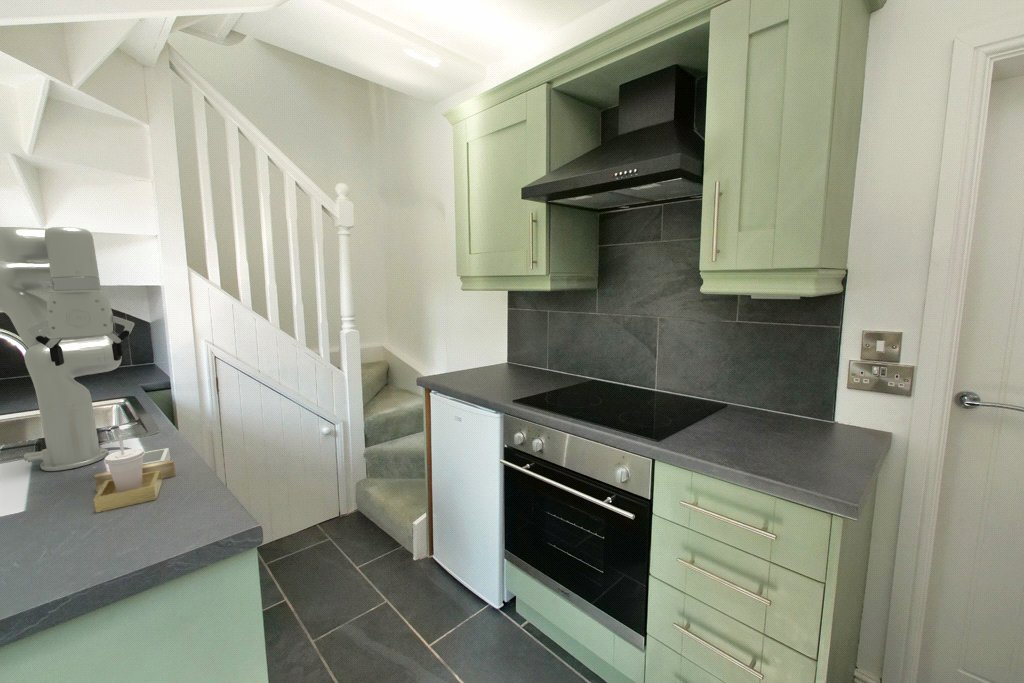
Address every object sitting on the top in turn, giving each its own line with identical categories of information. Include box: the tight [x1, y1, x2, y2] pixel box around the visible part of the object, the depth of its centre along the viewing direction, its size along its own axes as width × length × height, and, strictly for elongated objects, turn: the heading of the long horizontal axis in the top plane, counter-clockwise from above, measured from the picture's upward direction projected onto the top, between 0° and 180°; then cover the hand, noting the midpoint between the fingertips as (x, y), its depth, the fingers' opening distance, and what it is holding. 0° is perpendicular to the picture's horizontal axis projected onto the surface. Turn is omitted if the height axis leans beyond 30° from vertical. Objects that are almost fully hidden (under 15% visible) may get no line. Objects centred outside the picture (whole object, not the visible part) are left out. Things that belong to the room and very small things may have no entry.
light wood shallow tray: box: [93, 470, 163, 514], centre depth 96 cm, size 10×10×3 cm
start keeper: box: [143, 447, 171, 465], centre depth 109 cm, size 10×10×3 cm
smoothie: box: [104, 434, 145, 492], centre depth 95 cm, size 6×6×14 cm
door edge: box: [93, 459, 177, 493], centre depth 103 cm, size 14×2×4 cm, turn 122°
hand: (89, 362), depth 100 cm, fingers open, 9 cm apart
